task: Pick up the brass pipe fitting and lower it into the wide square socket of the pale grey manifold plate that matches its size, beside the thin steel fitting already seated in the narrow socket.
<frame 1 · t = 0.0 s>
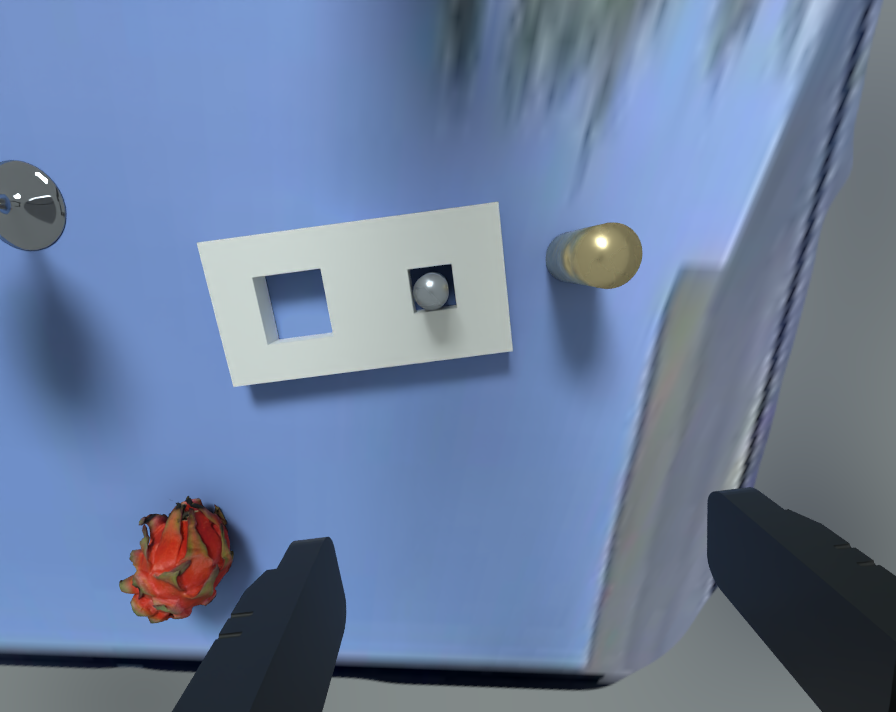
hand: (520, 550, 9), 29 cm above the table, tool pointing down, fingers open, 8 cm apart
manifold plate: (365, 296, 37), on the table
dragon fruit: (205, 530, 42), on the table
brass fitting: (570, 257, 36), on the table
wine glass: (24, 206, 35), on the table
steel fitting: (433, 287, 37), resting in manifold plate
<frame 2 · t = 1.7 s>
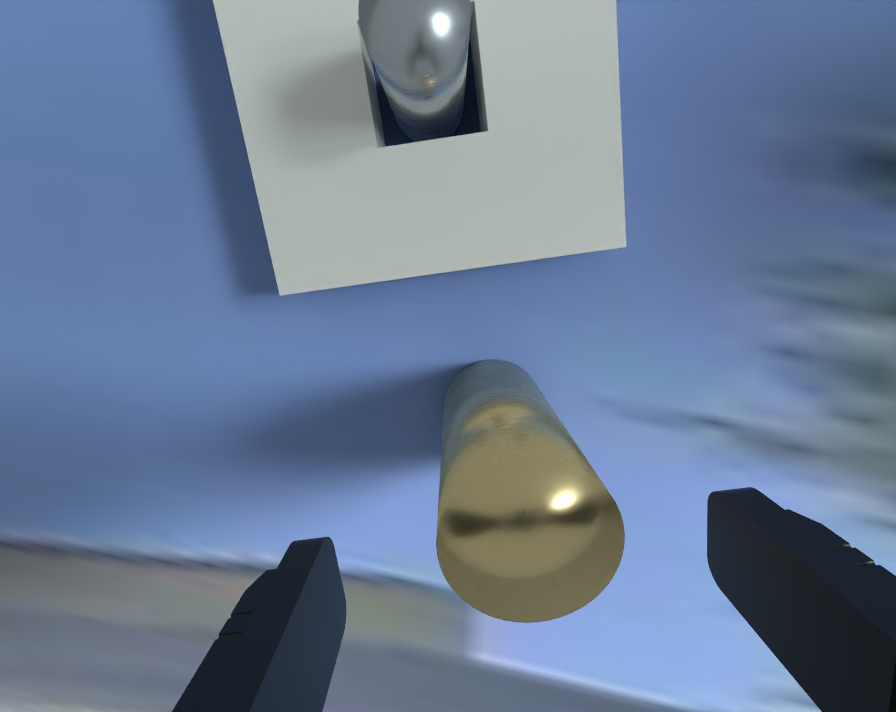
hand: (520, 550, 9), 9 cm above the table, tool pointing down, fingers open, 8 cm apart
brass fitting: (492, 406, 18), on the table
steel fitting: (428, 105, 16), resting in manifold plate
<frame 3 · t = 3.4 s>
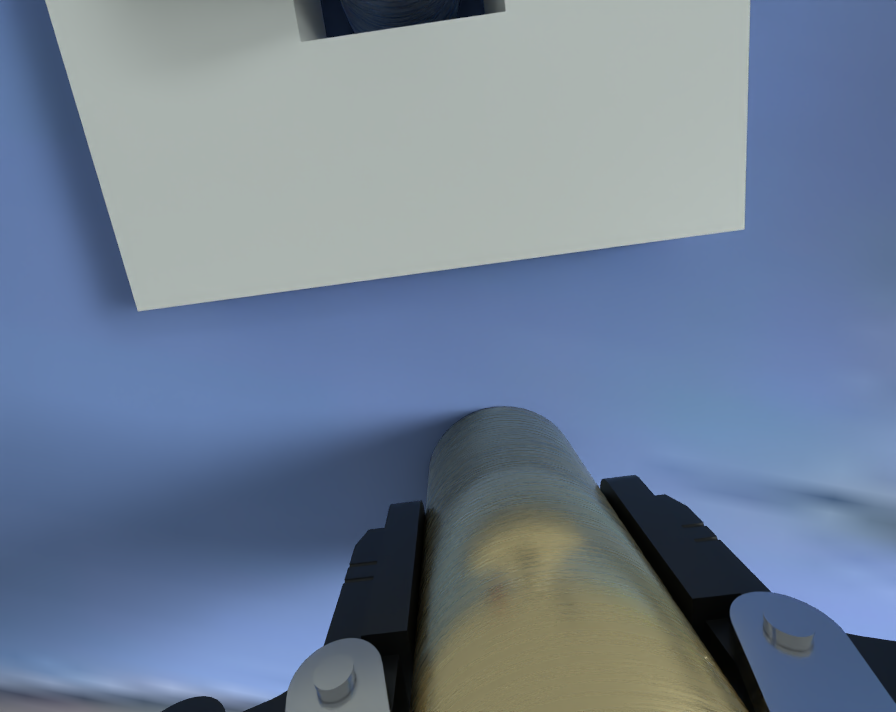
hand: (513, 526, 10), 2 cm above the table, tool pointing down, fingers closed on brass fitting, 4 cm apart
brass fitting: (502, 476, 12), on the table, touching gripper
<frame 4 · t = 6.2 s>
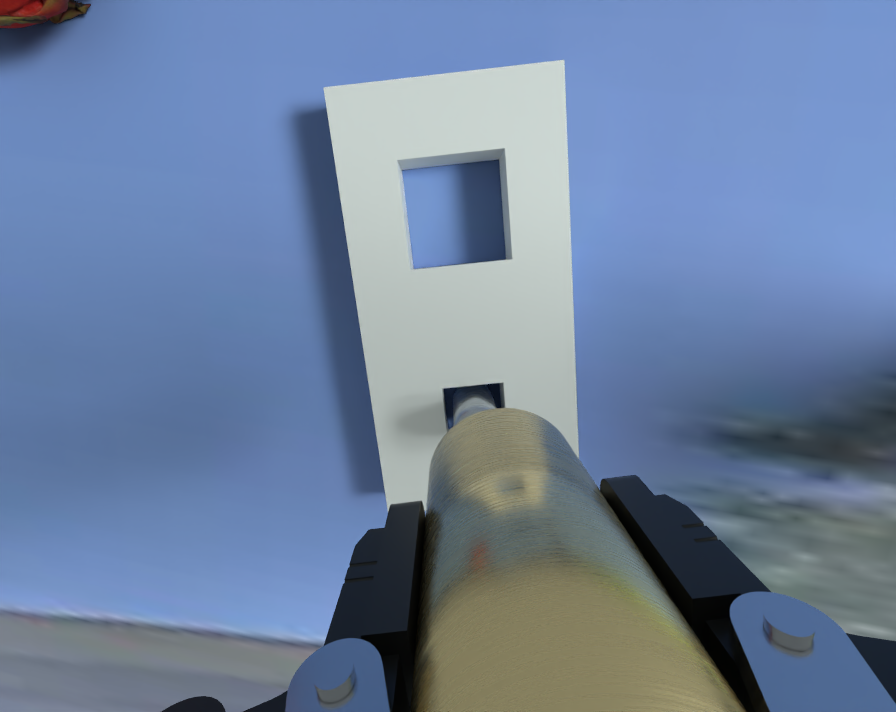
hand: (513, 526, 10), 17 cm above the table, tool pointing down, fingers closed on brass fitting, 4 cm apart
manifold plate: (464, 308, 26), on the table
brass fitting: (502, 477, 12), point 15 cm above the table, touching gripper
steel fitting: (472, 400, 27), resting in manifold plate
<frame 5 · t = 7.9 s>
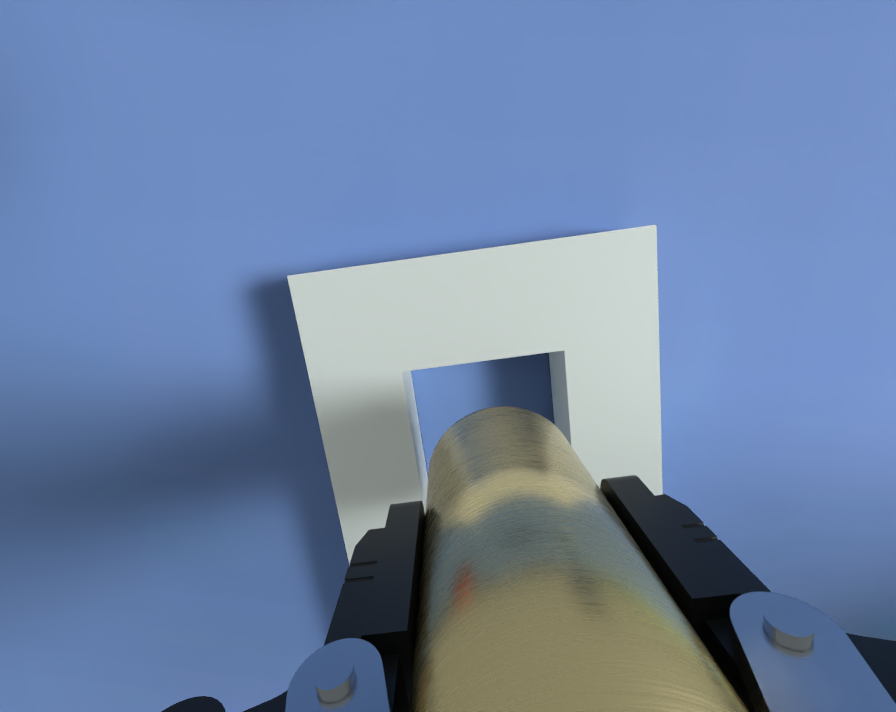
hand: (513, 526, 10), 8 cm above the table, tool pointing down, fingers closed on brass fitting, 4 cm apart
manifold plate: (499, 528, 19), on the table
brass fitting: (502, 476, 12), point 6 cm above the table, touching gripper
when the fingers open (6 cm above the table, at t = 9.1 s): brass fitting drops 3 cm, resting in manifold plate.
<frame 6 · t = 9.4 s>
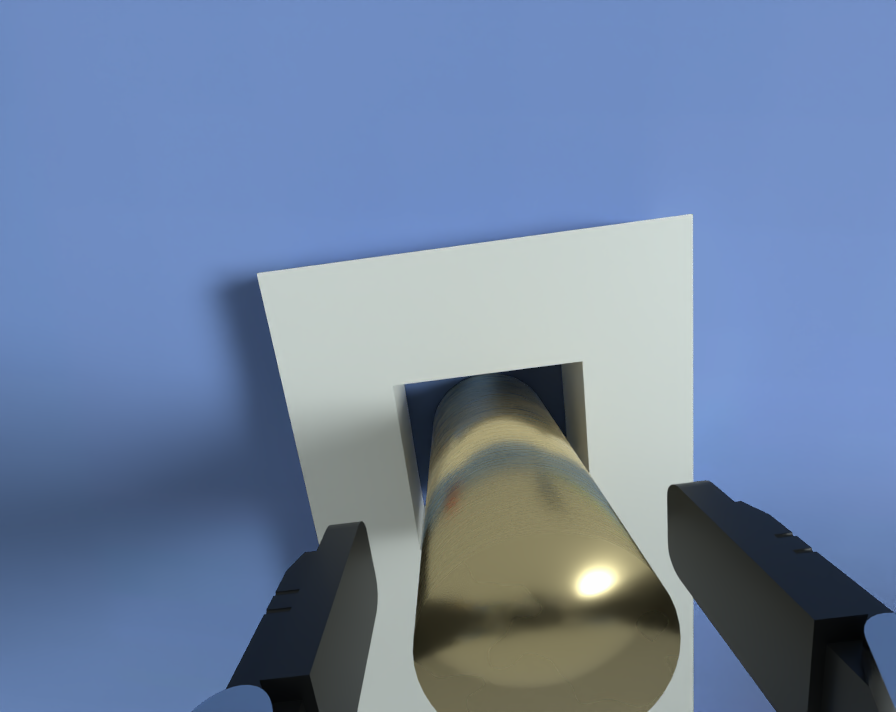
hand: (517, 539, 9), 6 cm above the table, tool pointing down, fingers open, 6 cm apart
manifold plate: (504, 557, 17), on the table
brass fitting: (490, 428, 15), resting in manifold plate
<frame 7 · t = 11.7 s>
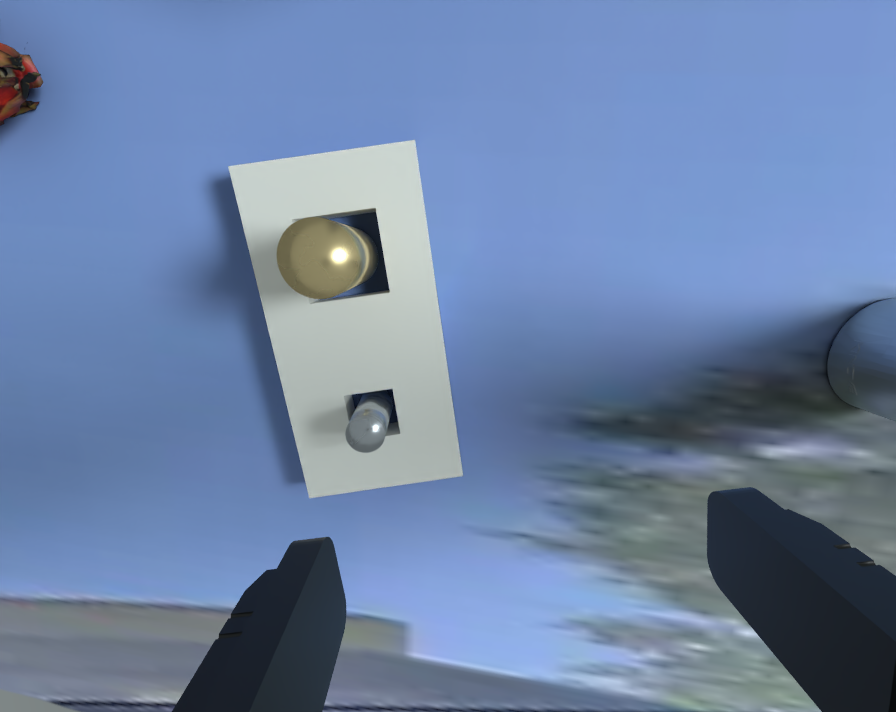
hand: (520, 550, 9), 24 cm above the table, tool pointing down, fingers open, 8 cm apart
manifold plate: (362, 330, 32), on the table
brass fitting: (349, 256, 31), resting in manifold plate
steel fitting: (376, 403, 34), resting in manifold plate
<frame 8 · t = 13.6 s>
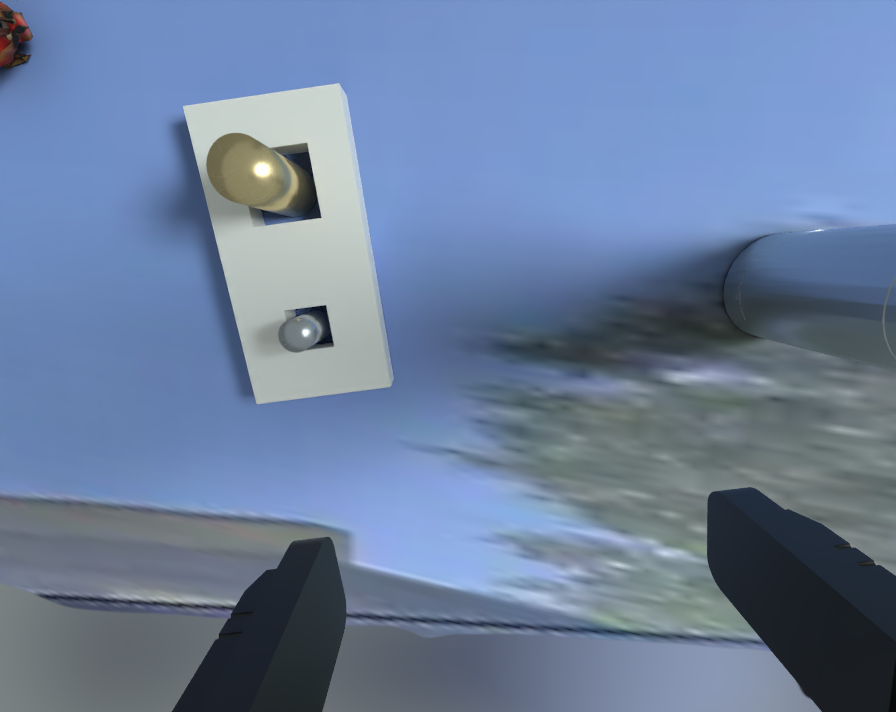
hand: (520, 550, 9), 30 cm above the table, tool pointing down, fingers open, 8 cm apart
manifold plate: (304, 257, 37), on the table
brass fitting: (291, 190, 36), resting in manifold plate
steel fitting: (318, 324, 38), resting in manifold plate
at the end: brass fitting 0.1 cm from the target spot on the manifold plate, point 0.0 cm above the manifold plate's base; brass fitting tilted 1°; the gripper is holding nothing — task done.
